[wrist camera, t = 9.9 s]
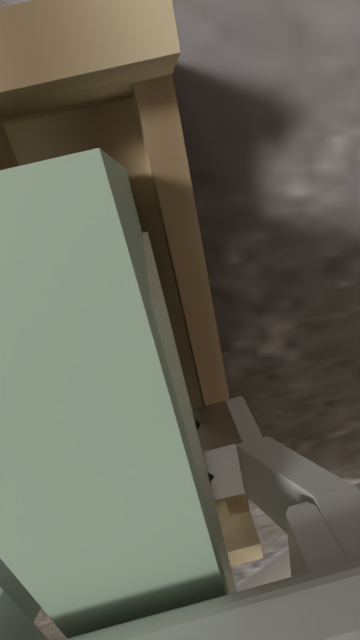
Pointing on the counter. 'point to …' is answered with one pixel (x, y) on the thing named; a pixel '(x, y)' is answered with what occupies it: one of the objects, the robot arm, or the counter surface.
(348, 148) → the counter surface
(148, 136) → the drawer
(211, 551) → the rectangular block
